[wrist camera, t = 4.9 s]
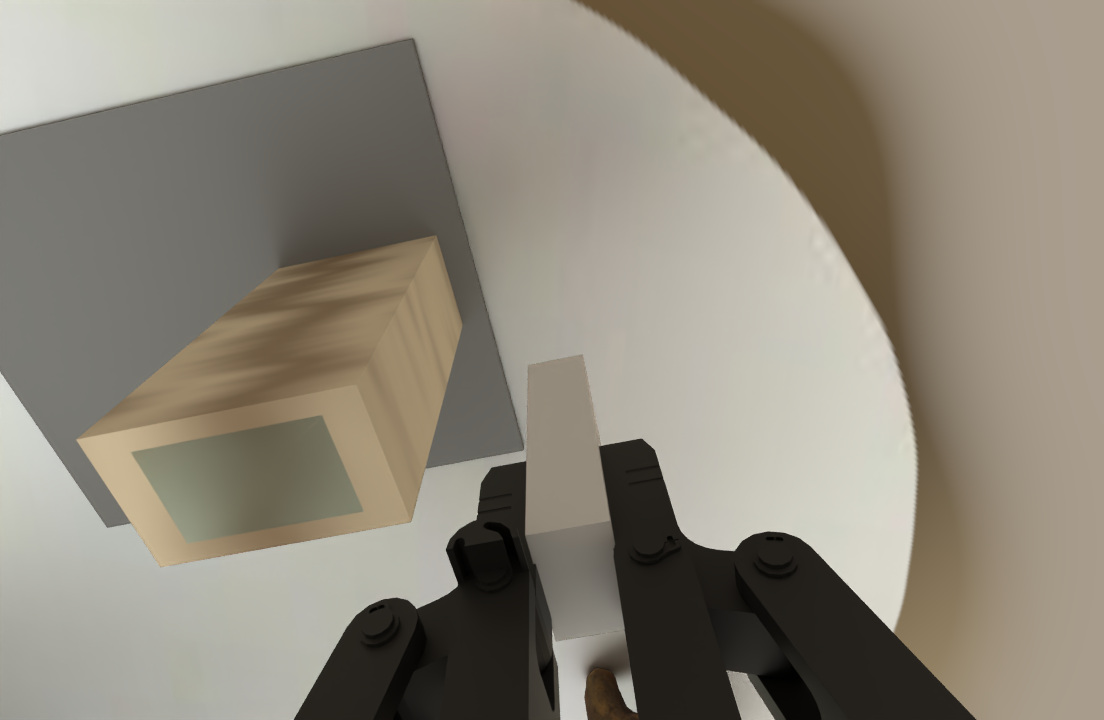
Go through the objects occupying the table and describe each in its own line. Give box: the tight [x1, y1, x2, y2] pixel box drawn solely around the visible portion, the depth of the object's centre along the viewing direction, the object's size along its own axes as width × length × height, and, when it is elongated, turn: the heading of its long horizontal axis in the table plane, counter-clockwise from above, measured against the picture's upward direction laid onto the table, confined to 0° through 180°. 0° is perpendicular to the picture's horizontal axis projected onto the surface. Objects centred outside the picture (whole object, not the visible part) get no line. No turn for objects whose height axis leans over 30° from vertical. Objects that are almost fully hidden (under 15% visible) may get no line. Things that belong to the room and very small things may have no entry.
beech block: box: [76, 235, 463, 567], centre depth 23 cm, size 8×4×14 cm, turn 102°
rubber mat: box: [0, 39, 524, 528], centre depth 30 cm, size 24×20×1 cm
